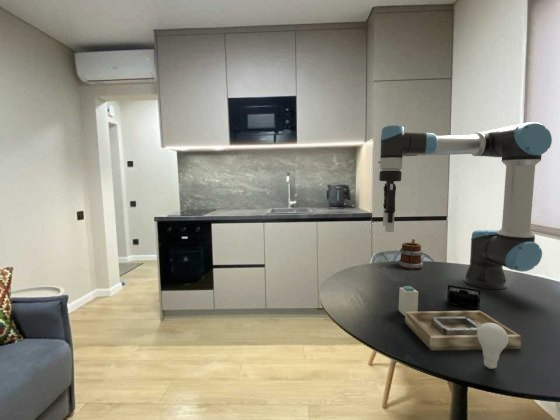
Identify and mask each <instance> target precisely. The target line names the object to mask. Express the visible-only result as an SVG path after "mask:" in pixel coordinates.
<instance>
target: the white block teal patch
mask: <svg viewBox="0 0 560 420" xmlns="http://www.w3.org/2000/svg"><path fill="white" fill-rule="evenodd" d="M398 292H399V294H398V311H399V312H400V313H401V314H402V316H405V312H419V311H418V309H419V291H418V290H417V289H415V288H414V287H413V286H412V285H404V286H403V287H399V291H398Z"/></svg>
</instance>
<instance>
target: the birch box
mask: <svg viewBox="0 0 560 420" xmlns="http://www.w3.org/2000/svg"><path fill="white" fill-rule="evenodd" d="M460 316H465V317H466V318H470V319H471V320H472V321H474V322H475V323H477V324H478V325H480V326H481V325H482V324H484V323H495V324H497V325H499V326H501V327H502V328H503V329H504V330H505V331H506V333H507V335H508V344H507V346H506V347H505V348H504V349H503V350H521V347H522V335H520V334H518V333H517V332H515V331H514V330H513V329H511V328H509V327H508V326H506V325H504V324H503V323H501V322H500V321H498V320H497V319H494V318H493V317H492V316H489V315H488V314H487V313H485V312H483V310H478V311H468V310H441V311H439V310H438V311H437V310H436V311H435V310H434V311H433V310H429V311H417V312H405V317H404V323H405V324H406V325H407V327H408V328H410V329H411V330H412V331H413V333H414V334H415V335H416V336H417V337H418V338H419V339H420V340H421V341H422V342H423V343H424V345H426V347H428V349H430V351H472V350H474V351H475V350H477V351H478V350H479V351H481V350H482V351H483V349H482V346H481V344H480V342H479V340H478V337H477V335H450V336H445V335H442V334H441V333H440V332H439V331H438V330H436V329H435V328H434V327H433V326H432V323H431V322H432V317H460ZM444 326H445V327H446V328H469V327H467V326H466V325H444Z"/></svg>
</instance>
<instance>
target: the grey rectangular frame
mask: <svg viewBox="0 0 560 420" xmlns="http://www.w3.org/2000/svg"><path fill="white" fill-rule="evenodd" d="M431 323H432V326H433V327H434V328H435V329H436V330H438V331H439V332H440V333H441V334H442V335H445V336H450V335H477V330H478V328H479V327H480V325H478V324H477V323H475V322H474V321H472V320H471V319H470V318H466V317H465V316H460V317H432V322H431ZM444 325H466V326H467V327H469V328H446V327H445V326H444Z"/></svg>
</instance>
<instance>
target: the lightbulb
mask: <svg viewBox="0 0 560 420" xmlns="http://www.w3.org/2000/svg"><path fill="white" fill-rule="evenodd" d="M477 337H478V340H479V342H480V344H481V346H482V349H483V350H482V355H483V364H484V366H485V367H487V368H488V369H489V370H493V369H497V367H498V361H499V359H500V356H501V353H502V351H503V350H505V349H504V348H505V347H506V346H507V344H508V335H507V333H506V331H505V330H504V329H503V328H502V327H501V326H499V325H497V324H495V323H484V324H482V325H481V326H480V327H479V328H478V330H477Z"/></svg>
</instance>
